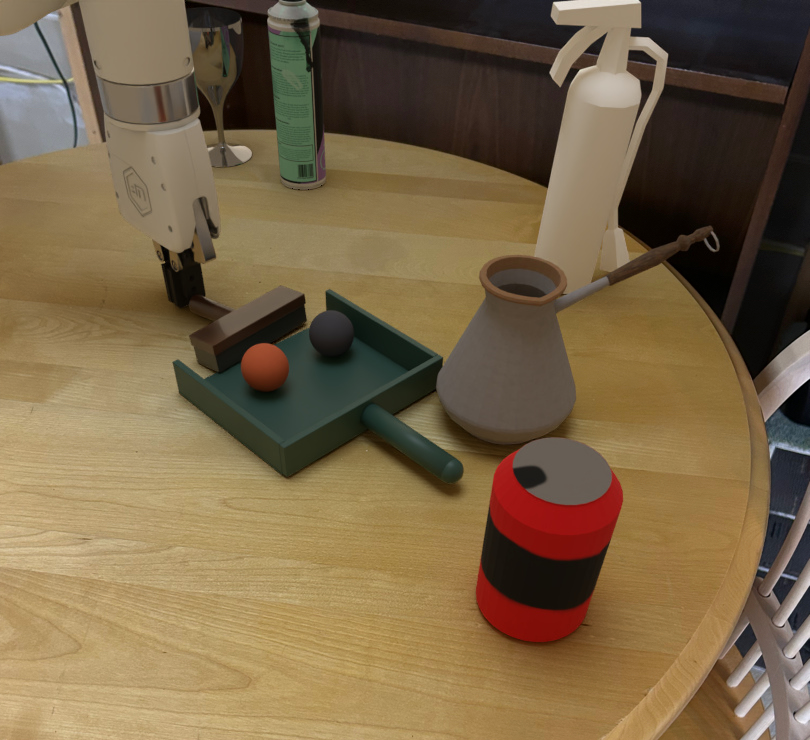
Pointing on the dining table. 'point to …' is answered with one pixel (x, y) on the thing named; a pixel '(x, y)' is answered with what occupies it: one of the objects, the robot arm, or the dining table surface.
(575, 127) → the fire extinguisher
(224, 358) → the brush
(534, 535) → the soda can
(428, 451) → the dustpan
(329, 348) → the grey ball
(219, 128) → the wine glass
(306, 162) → the spray can
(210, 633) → the dining table surface
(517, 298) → the coffee pot
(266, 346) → the terracotta ball
